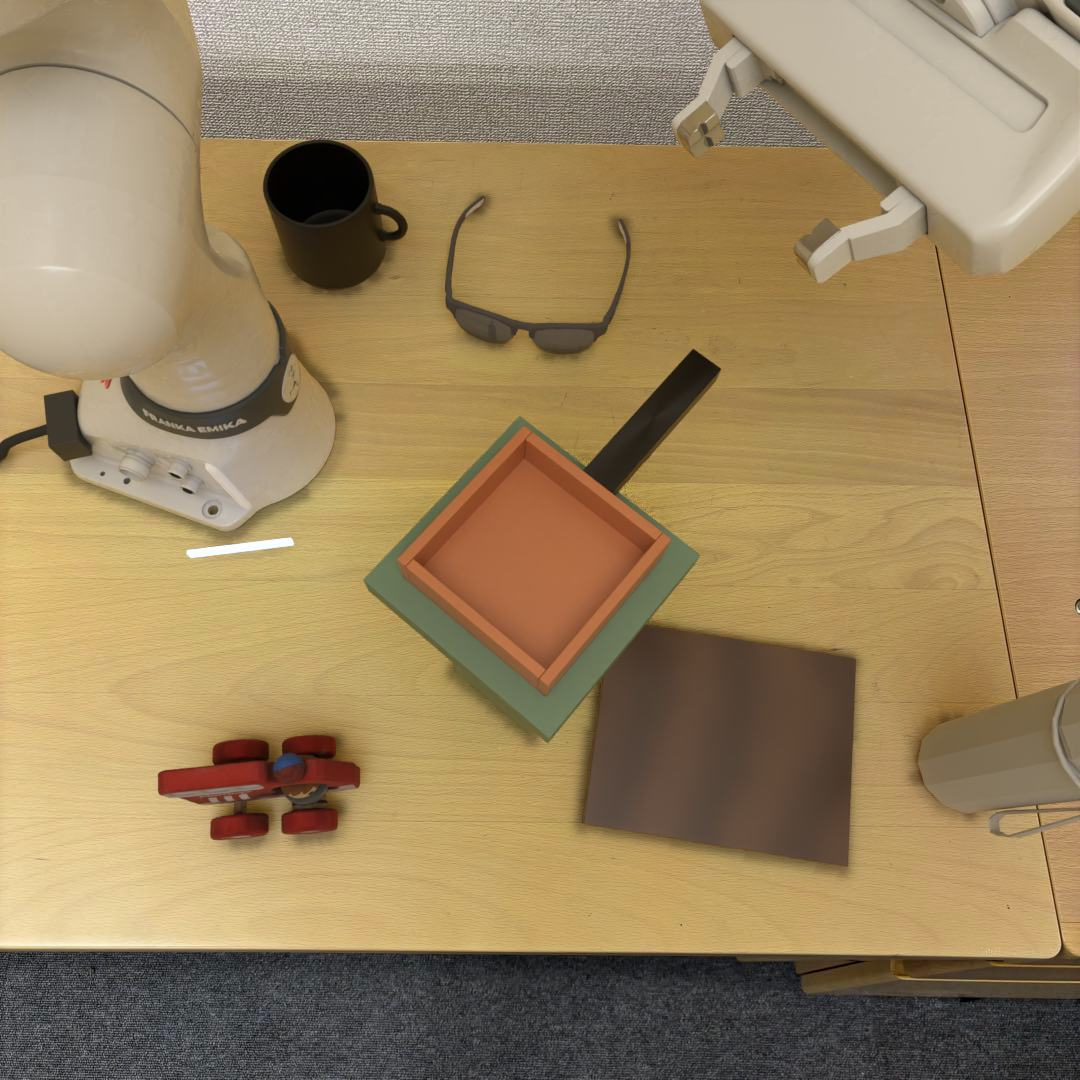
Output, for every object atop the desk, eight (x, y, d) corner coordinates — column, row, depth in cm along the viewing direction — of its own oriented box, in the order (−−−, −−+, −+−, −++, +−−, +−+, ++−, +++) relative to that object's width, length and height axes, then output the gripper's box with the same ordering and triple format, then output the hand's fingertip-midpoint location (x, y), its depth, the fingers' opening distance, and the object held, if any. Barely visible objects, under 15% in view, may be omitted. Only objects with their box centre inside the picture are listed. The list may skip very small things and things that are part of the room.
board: (581, 824, 70) (583, 823, 69) (608, 623, 75) (610, 618, 74) (841, 866, 70) (848, 866, 68) (849, 662, 75) (856, 658, 74)
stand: (534, 782, 71) (549, 738, 46) (410, 675, 73) (362, 579, 49) (636, 656, 75) (700, 554, 50) (515, 558, 77) (519, 415, 53)
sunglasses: (432, 343, 84) (429, 306, 79) (468, 210, 91) (467, 169, 86) (610, 373, 83) (617, 338, 79) (632, 237, 91) (640, 198, 86)
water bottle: (906, 716, 74) (1094, 646, 50) (1003, 725, 74) (1236, 659, 50) (912, 835, 71) (1115, 821, 47) (1013, 845, 71) (1266, 835, 47)
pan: (545, 697, 47) (548, 686, 44) (402, 576, 49) (396, 559, 46) (767, 432, 53) (782, 408, 50) (631, 333, 55) (637, 304, 52)
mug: (403, 301, 85) (392, 238, 77) (276, 284, 85) (250, 219, 77) (421, 218, 88) (412, 149, 80) (297, 202, 88) (276, 131, 80)
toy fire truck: (365, 829, 69) (343, 823, 60) (199, 843, 69) (148, 839, 59) (364, 736, 72) (341, 716, 62) (202, 749, 71) (154, 730, 61)
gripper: (840, -191, 41) (596, 32, 43) (1214, 52, 32) (881, 313, 34) (854, -73, 46) (638, 118, 49) (1176, 161, 37) (891, 379, 40)
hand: (740, 201), depth 41 cm, fingers open, 8 cm apart
